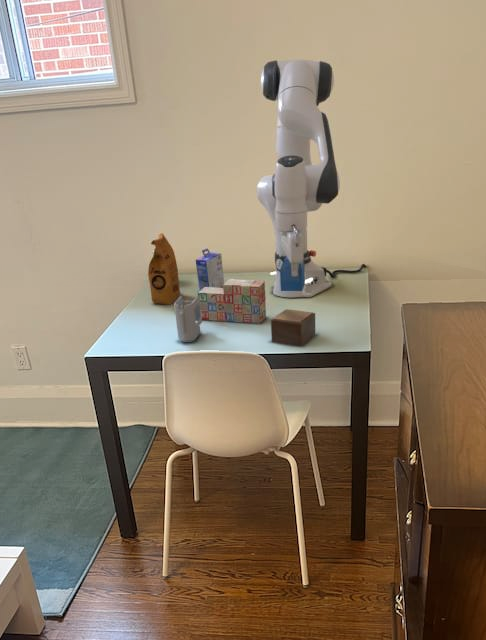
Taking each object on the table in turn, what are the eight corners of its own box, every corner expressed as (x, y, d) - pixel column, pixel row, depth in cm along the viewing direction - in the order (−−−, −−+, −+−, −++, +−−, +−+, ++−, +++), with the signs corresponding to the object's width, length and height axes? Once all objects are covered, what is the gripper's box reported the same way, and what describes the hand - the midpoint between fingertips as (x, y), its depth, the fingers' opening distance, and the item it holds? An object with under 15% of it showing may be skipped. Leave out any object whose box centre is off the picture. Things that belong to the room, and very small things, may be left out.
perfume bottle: (301, 291, 192) (301, 248, 185) (280, 290, 193) (279, 248, 187) (304, 284, 197) (304, 242, 190) (283, 284, 198) (282, 242, 192)
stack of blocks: (200, 320, 222) (196, 283, 216) (207, 313, 227) (203, 277, 221) (260, 323, 216) (259, 286, 209) (266, 317, 221) (265, 280, 214)
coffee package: (147, 304, 239) (138, 241, 227) (159, 293, 249) (150, 232, 237) (174, 305, 237) (166, 241, 225) (184, 293, 247) (177, 232, 235)
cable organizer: (204, 330, 214) (200, 293, 208) (193, 345, 204) (189, 306, 198) (184, 329, 216) (180, 293, 209) (173, 344, 205) (168, 306, 199)
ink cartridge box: (213, 284, 254) (209, 245, 246) (225, 286, 252) (222, 247, 244) (198, 292, 248) (194, 252, 240) (210, 294, 245) (206, 253, 237)
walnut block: (286, 330, 209) (285, 308, 205) (315, 334, 205) (315, 311, 201) (271, 342, 202) (270, 318, 198) (301, 346, 198) (301, 323, 194)
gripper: (308, 228, 176) (309, 281, 184) (296, 213, 194) (297, 261, 201) (285, 230, 176) (286, 282, 184) (275, 214, 193) (276, 263, 201)
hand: (292, 271), depth 193 cm, fingers closed on perfume bottle, 7 cm apart
